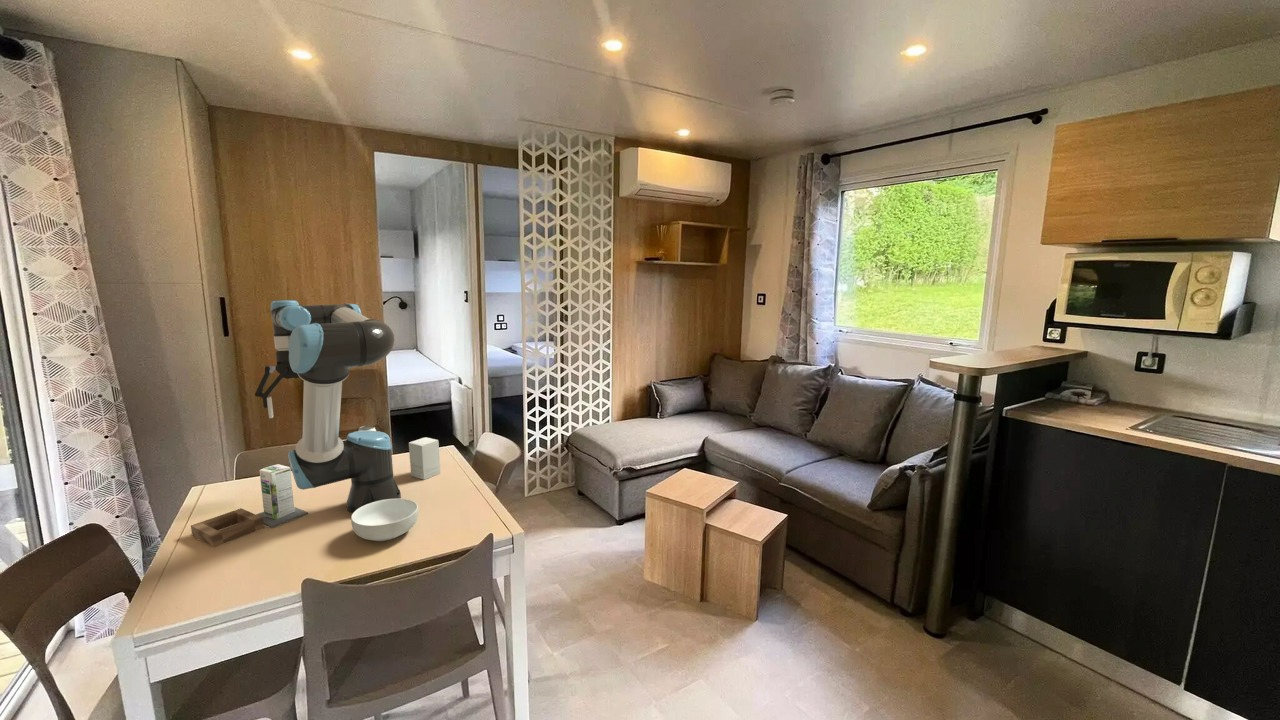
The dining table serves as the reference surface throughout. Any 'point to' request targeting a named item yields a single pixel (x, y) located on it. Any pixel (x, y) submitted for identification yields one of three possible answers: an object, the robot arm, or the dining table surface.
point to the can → (367, 428)
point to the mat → (282, 518)
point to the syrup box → (277, 491)
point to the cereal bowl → (384, 519)
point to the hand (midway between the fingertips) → (296, 414)
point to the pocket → (210, 527)
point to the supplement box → (424, 458)
